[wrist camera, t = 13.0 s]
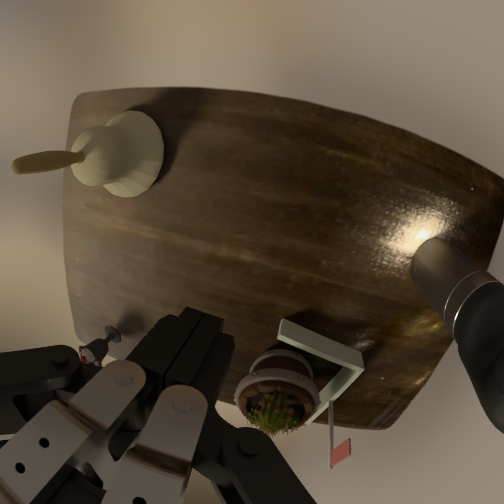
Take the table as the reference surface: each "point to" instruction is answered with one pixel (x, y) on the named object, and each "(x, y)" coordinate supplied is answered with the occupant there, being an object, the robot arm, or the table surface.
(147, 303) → the table surface
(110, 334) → the sundae
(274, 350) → the flowerpot
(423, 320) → the table surface
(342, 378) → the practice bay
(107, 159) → the handbell
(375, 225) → the table surface
